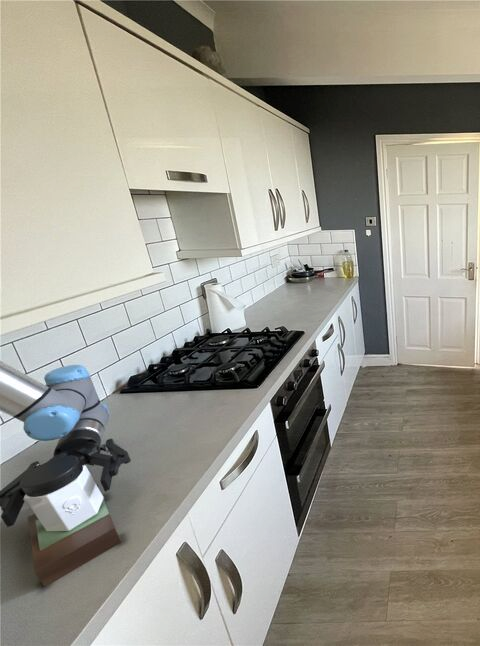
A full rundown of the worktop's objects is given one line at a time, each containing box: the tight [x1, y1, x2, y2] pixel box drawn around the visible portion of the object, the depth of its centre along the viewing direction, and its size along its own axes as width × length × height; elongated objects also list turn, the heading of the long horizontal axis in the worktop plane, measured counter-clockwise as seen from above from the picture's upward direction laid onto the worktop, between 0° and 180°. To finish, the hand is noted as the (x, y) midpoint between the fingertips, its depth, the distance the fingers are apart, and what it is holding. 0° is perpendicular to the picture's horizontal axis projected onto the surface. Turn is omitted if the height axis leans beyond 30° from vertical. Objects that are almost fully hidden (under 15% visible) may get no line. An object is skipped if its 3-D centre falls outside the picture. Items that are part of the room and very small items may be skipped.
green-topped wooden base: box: [27, 483, 122, 588], centre depth 72 cm, size 18×11×5 cm, turn 50°
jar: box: [20, 456, 105, 532], centre depth 70 cm, size 9×8×12 cm
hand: (58, 502), depth 67 cm, fingers open, 13 cm apart
